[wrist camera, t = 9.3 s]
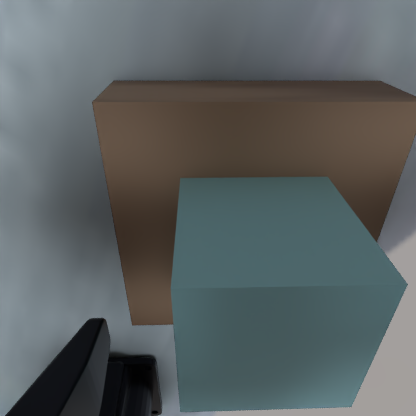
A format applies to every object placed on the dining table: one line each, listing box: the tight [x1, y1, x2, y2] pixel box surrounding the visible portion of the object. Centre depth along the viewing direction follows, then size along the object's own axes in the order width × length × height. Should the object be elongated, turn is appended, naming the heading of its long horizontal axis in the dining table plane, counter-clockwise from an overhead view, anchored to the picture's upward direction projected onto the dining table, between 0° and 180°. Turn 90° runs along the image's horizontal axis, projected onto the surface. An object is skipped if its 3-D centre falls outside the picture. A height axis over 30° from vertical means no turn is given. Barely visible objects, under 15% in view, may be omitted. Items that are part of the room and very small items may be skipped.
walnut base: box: [92, 81, 416, 325], centre depth 14 cm, size 10×10×3 cm
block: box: [171, 177, 408, 412], centre depth 10 cm, size 5×5×5 cm
